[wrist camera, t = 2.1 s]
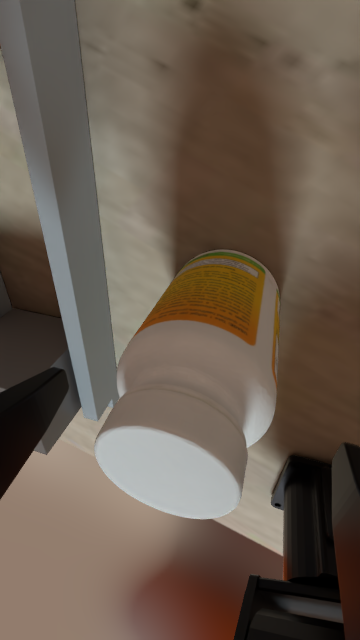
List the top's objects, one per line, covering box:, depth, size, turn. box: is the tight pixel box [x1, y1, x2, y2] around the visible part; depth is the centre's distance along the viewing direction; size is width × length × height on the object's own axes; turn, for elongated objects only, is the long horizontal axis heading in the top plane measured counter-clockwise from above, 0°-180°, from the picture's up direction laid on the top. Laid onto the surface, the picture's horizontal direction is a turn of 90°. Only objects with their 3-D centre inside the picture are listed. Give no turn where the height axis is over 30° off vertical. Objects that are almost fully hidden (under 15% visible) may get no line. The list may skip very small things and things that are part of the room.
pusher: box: [0, 308, 82, 455], centre depth 19 cm, size 5×6×6 cm
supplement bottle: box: [94, 249, 280, 519], centre depth 12 cm, size 5×5×10 cm
